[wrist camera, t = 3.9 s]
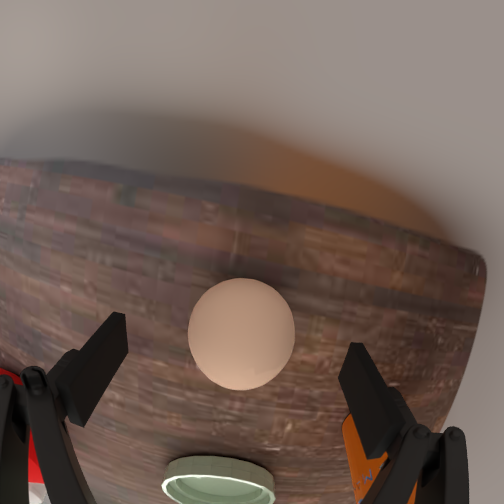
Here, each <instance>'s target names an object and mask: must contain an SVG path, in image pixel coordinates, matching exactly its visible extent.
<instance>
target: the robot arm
mask: <svg viewBox="0 0 504 504" xmlns="http://www.w3.org/2000/svg"><path fill="white" fill-rule="evenodd" d="M127 354H128V342H127V332H126V320H125V314H123V313H118V312H113V313H112V314H111V315H110V316H109V317H108V318H107V319H106V321H105V322H104V323H103V324H102V325H101V326H100V327H99V329H98V330H97V331H96V332H95V333H94V334H93V335H92V337H91V338H90V339H89V340H88V341H87V342H86V344H85V345H84V346H83V347H82V348H81V349H80V351H79V350H76V349H72V350H70V351H68V352H66V353H65V354H64V355H63V356H62V357H61V359H60V360H59V361H58V362H57V363H56V364H55V365H54V367H53V368H52V369H51V370H50V371H49V372H48V374H47V375H46V374H45V372H44V370H43V369H42V368H40V367H37V366H30V367H27V368H25V369H24V370H23V371H22V372H21V374H20V379H21V381H22V384H23V385H19V384H15V383H14V381H13V379H12V377H10V376H9V375H6V374H1V375H0V504H30V503H29V484H28V460H29V439H30V427H31V432H32V437H33V442H34V447H35V451H36V456H37V460H38V463H39V467H40V471H41V474H42V478H43V481H44V484H45V487H46V490H47V493H48V496H49V499H50V502H51V504H97V503H96V501H95V499H94V497H93V495H92V493H91V491H90V489H89V486H88V484H87V482H86V480H85V477H84V475H83V472H82V470H81V467H80V465H79V462H78V460H77V457H76V454H75V451H74V449H73V446H72V443H71V440H70V437H69V434H68V430H67V427H66V424H65V421H64V419H65V417H66V416H67V415H68V418H69V420H70V422H71V423H73V424H76V425H78V426H81V427H83V428H84V426H85V425H86V423H87V421H88V419H89V418H90V416H91V414H92V412H93V410H94V409H95V407H96V405H97V404H98V402H99V400H100V398H101V397H102V395H103V393H104V392H105V390H106V388H107V387H108V385H109V383H110V381H111V380H112V378H113V376H114V375H115V373H116V372H117V370H118V368H119V367H120V365H121V363H122V362H123V360H124V358H125V357H126V355H127ZM338 379H339V382H340V385H341V388H342V390H343V393H344V396H345V398H346V401H347V404H348V407H349V410H350V412H351V415H352V418H353V421H354V424H355V427H356V429H357V432H358V435H359V438H360V441H361V444H362V447H363V450H364V453H365V456H366V459H367V460H370V459H376V458H381V457H382V455H383V454H384V453H385V451H386V452H387V455H388V457H387V459H386V460H385V461H384V462H383V463H382V465H381V466H380V467H379V468H380V471H379V473H378V475H377V476H376V478H375V480H374V482H373V483H372V485H371V487H370V489H369V490H368V492H367V493H366V495H365V497H364V498H363V500H362V501H361V503H360V504H407V503H408V501H409V498H410V496H411V494H412V491H413V489H414V487H415V484H416V482H417V487H416V495H415V502H414V504H469V473H468V459H467V449H466V440H465V435H464V433H463V431H462V430H461V429H459V428H457V427H454V426H453V427H448V428H447V429H446V430H445V431H444V433H432V432H431V431H430V430H429V428H428V427H426V426H424V425H422V424H417V422H416V420H415V418H414V416H413V415H412V413H411V411H410V409H409V407H408V406H407V404H406V402H405V401H404V399H403V397H402V395H401V393H400V392H399V391H398V390H396V389H395V388H394V387H387V385H386V384H385V382H384V380H383V378H382V376H381V375H380V373H379V371H378V369H377V367H376V366H375V364H374V362H373V360H372V359H371V357H370V355H369V353H368V352H367V350H366V348H365V346H364V345H363V343H354V342H351V344H350V347H349V349H348V352H347V355H346V358H345V360H344V363H343V366H342V368H341V371H340V374H339V376H338Z"/></svg>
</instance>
